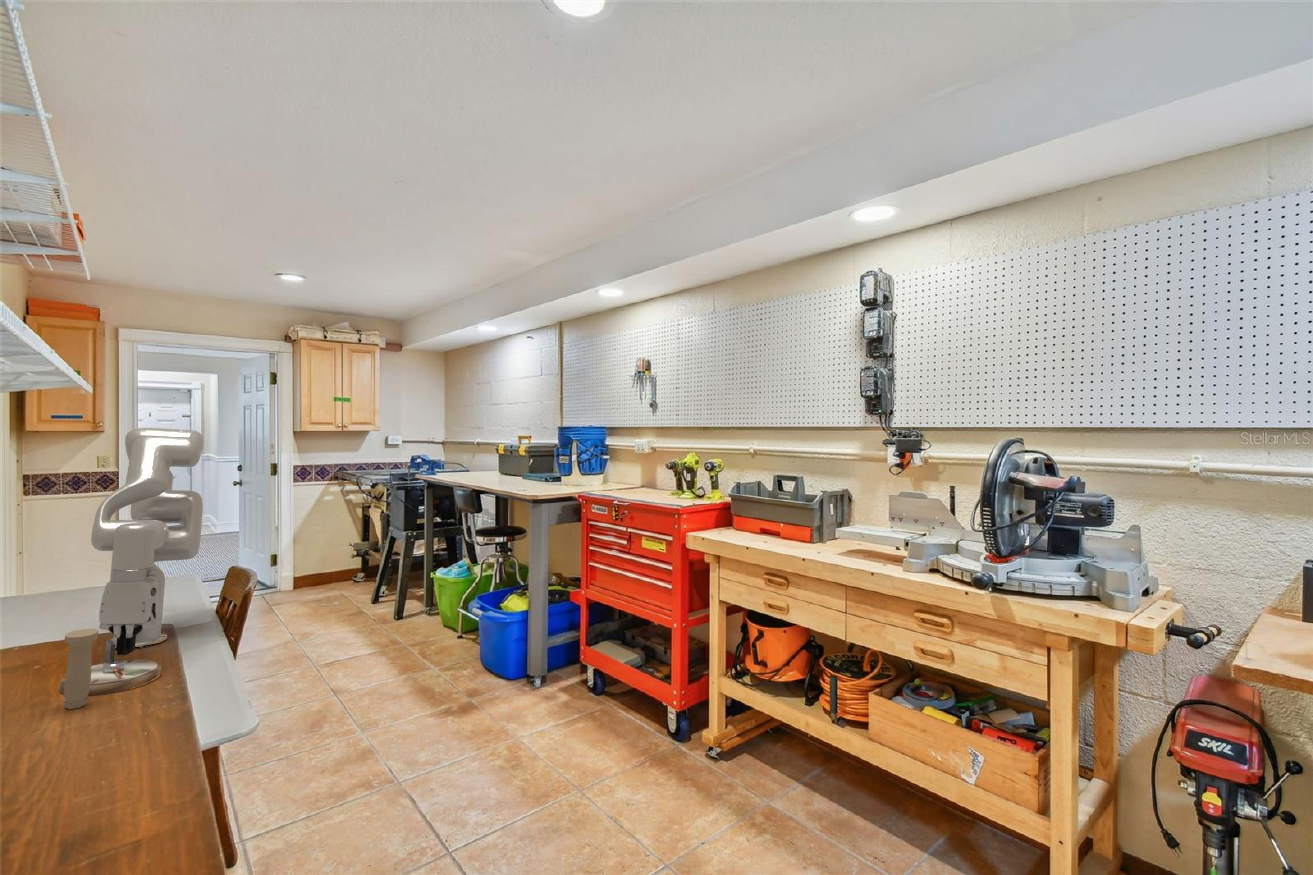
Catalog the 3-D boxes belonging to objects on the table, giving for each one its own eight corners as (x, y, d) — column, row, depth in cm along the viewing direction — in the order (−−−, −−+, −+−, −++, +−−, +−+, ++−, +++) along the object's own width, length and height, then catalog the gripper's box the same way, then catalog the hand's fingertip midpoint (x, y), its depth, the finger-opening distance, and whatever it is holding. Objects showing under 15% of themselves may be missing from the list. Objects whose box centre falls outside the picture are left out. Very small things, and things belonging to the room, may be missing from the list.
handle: (55, 715, 117) (62, 638, 118) (62, 703, 122) (68, 630, 123) (89, 709, 120) (95, 635, 121) (94, 699, 125) (100, 627, 126)
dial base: (136, 693, 129) (137, 681, 129) (39, 698, 124) (40, 686, 124) (175, 666, 145) (176, 656, 145) (90, 670, 140) (91, 660, 141)
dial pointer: (131, 675, 132) (133, 652, 132) (109, 680, 129) (112, 655, 129) (116, 660, 141) (118, 638, 141) (96, 664, 138) (98, 641, 138)
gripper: (176, 572, 146) (170, 647, 145) (105, 572, 143) (99, 649, 142) (158, 578, 139) (151, 657, 138) (83, 578, 135) (75, 659, 134)
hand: (125, 653), depth 140 cm, fingers closed
